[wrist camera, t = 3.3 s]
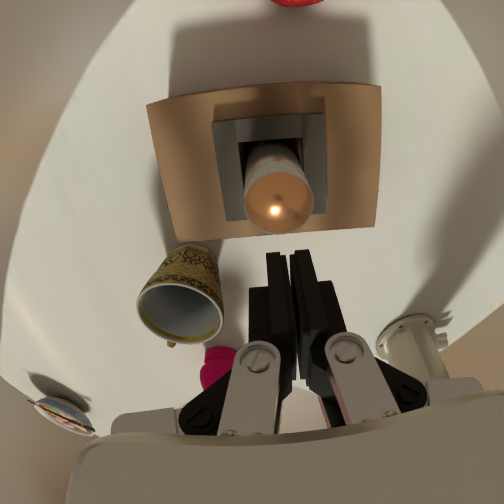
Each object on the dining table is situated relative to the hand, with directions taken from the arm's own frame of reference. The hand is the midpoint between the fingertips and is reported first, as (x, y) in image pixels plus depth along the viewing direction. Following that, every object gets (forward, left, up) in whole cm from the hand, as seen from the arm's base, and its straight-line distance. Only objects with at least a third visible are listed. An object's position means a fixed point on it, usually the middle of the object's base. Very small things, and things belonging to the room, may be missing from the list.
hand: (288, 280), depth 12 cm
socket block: (0, 0, -23) cm, 23 cm away
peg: (0, 0, -16) cm, 16 cm away
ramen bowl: (+71, +69, -23) cm, 102 cm away
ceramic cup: (+12, +16, -23) cm, 30 cm away
